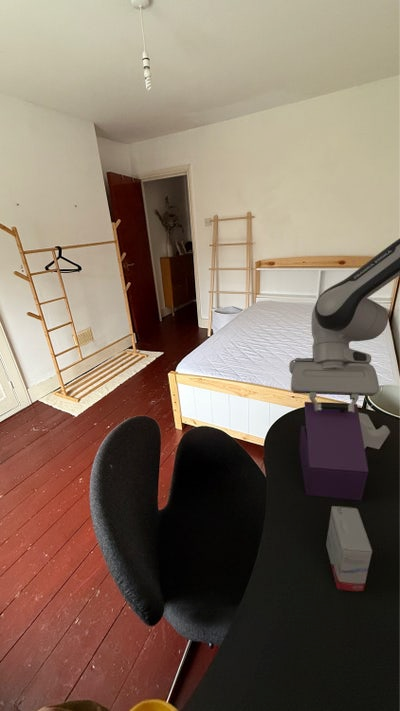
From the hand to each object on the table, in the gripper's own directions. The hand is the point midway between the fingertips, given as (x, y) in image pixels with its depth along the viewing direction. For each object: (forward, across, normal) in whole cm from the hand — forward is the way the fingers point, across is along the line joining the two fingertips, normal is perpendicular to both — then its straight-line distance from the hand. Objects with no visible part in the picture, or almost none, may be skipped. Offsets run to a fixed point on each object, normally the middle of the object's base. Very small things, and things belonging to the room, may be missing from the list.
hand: (334, 412), depth 72 cm
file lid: (+5, 0, +2) cm, 6 cm away
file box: (+14, 0, +12) cm, 19 cm away
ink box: (+31, -1, -5) cm, 32 cm away
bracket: (+3, +13, +24) cm, 27 cm away
